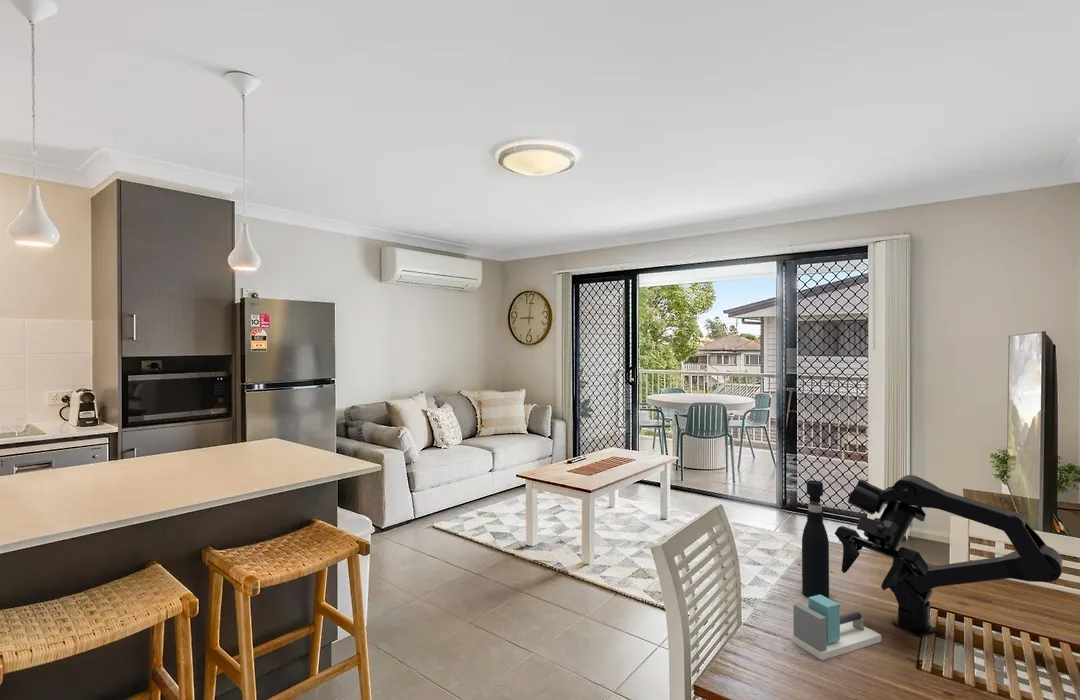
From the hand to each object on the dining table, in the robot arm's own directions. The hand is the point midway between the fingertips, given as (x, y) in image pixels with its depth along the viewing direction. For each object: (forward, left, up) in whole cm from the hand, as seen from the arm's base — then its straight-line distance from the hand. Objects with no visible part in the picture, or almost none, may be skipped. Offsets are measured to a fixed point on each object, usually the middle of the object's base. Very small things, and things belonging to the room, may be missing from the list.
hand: (862, 580), depth 123 cm
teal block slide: (+7, -1, -13) cm, 15 cm away
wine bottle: (-7, -19, -13) cm, 24 cm away
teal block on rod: (+11, -1, -11) cm, 15 cm away
